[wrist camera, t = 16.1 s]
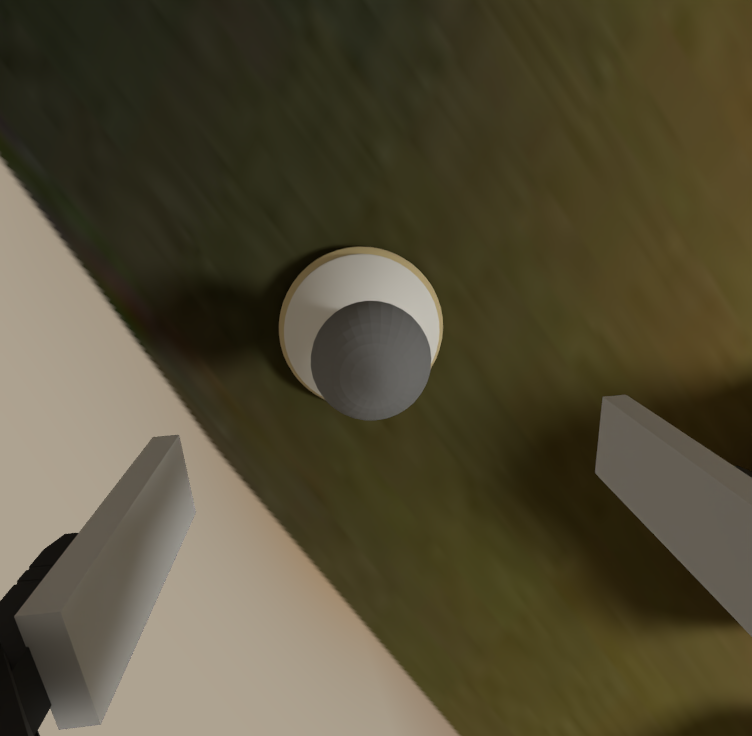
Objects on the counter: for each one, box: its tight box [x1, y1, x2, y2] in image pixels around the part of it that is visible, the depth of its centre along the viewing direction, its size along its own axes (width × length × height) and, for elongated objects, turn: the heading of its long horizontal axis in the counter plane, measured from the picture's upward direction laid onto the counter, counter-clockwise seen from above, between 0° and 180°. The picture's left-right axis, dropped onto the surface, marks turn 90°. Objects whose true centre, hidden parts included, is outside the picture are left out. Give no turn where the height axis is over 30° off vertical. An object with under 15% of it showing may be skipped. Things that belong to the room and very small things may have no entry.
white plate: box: [279, 246, 443, 400], centre depth 32 cm, size 11×11×2 cm
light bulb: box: [311, 301, 431, 420], centre depth 26 cm, size 6×6×10 cm
